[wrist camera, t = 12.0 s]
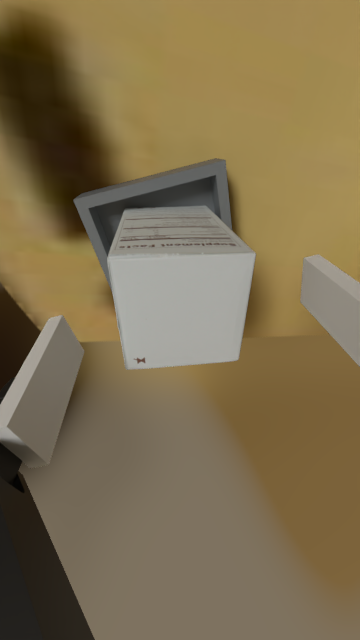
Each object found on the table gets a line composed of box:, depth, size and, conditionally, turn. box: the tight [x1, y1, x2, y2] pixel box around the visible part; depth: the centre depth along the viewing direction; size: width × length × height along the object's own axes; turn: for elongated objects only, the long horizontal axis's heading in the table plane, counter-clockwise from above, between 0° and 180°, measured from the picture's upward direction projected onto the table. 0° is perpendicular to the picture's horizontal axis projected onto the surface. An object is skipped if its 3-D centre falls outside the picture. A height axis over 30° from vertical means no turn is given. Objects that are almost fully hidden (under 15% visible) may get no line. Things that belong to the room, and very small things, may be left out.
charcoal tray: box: [74, 158, 232, 293], centre depth 23 cm, size 12×12×3 cm
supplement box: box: [107, 205, 256, 370], centre depth 19 cm, size 7×7×13 cm
